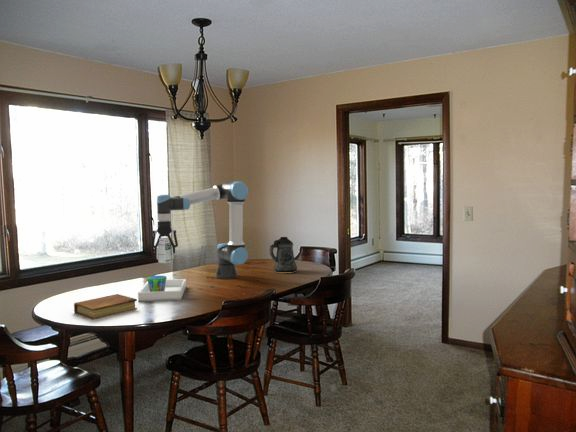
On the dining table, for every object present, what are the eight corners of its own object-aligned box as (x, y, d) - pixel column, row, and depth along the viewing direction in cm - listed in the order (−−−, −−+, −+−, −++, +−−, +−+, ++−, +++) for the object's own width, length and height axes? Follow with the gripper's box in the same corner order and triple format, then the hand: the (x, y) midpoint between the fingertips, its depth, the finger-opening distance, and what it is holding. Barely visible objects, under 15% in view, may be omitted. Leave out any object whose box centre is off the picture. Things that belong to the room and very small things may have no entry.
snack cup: (151, 291, 265) (150, 274, 264) (169, 291, 265) (169, 274, 264) (144, 298, 249) (143, 280, 248) (163, 298, 250) (163, 279, 249)
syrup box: (165, 263, 268) (164, 238, 268) (158, 262, 272) (157, 238, 271) (172, 261, 273) (171, 237, 272) (165, 261, 276) (164, 237, 275)
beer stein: (301, 271, 331) (301, 236, 329) (285, 275, 315) (285, 239, 313) (282, 268, 340) (282, 235, 339) (266, 273, 324) (266, 238, 323)
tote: (185, 287, 281) (185, 279, 281) (180, 300, 249) (180, 291, 249) (148, 288, 278) (148, 280, 278) (138, 301, 246) (138, 292, 246)
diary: (117, 304, 244) (116, 293, 243) (137, 310, 232) (136, 299, 232) (74, 313, 226) (73, 302, 225) (93, 320, 214) (93, 308, 214)
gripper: (145, 221, 266) (146, 260, 267) (181, 220, 269) (182, 259, 270) (147, 220, 273) (148, 258, 275) (182, 219, 276) (183, 257, 277)
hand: (165, 258), depth 272 cm, fingers closed on syrup box, 8 cm apart
